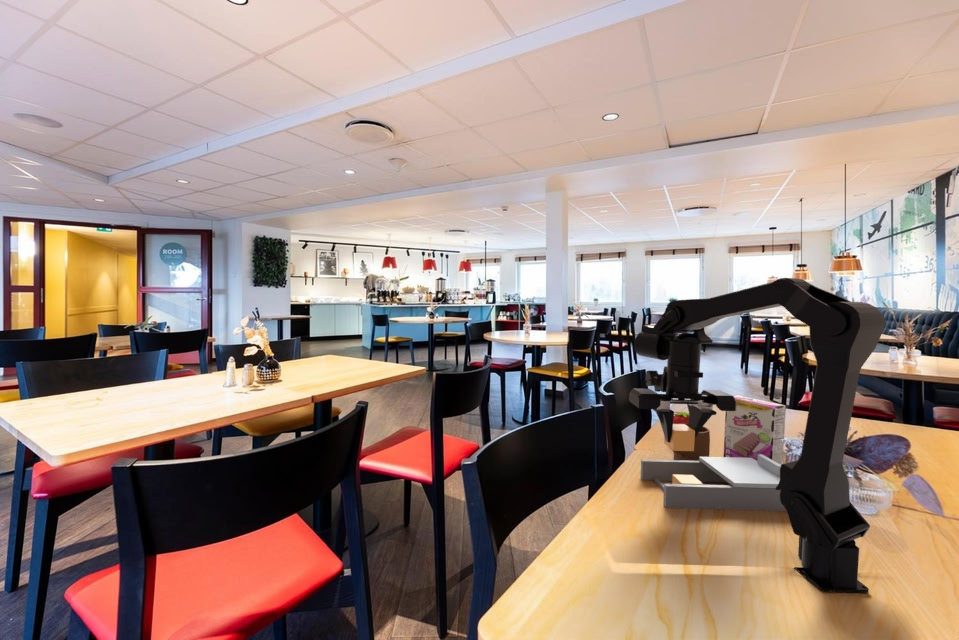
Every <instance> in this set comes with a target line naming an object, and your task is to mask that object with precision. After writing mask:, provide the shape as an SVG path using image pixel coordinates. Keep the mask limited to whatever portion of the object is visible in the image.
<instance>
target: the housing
mask: <svg viewBox="0 0 959 640" xmlns="http://www.w3.org/2000/svg"><path fill="white" fill-rule="evenodd" d="M673 474H675V475H693V476H695V477H696V478H697V479H698V480H699V481H700V482H702V483H704V482H706V483H707V482H710V483H714V482H715V483H728V482H727V481H726V480H724V479H723V478H722V477H720V476H719V475H718V474H716V473H715V472H714V471H713V470H711V469H710V468H709V467H707V466H706V465H705V464H703V463H702V462H701V461H690V460H674V459H640V479H641V480H642V481H654V482H655V483H656V484H657V486H659V488H660V490H662V491H663V502H662V503H663V504H662V505H663V507H664V508H666V509H698V510H699V509H700V510H731V511H732V510H739V511H741V510H742V511H779V512H780V511H781V512H783V511H784V512H787V510H786V509H785V507H784V506H783V505H782V504H781V501H780V491H781V490H776V488H745V487H733V486H732V485H731V484H727V485H726V484H703V485H694V484H672V475H673ZM664 481H667V482H665V483H663V482H664Z"/></svg>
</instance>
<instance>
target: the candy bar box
mask: <svg viewBox="0 0 959 640" xmlns="http://www.w3.org/2000/svg"><path fill="white" fill-rule="evenodd" d="M733 396H734V398H735V399H736V402H737V407H736V411H725V417H724V439H723V440H724V441H723V443H724V444H723V457H741V458H753V459H755V460H756V461H757V459H758V455H764V456H766V457H768V458H769V459H771V460H773V461H775V462H777V463H778V464H780V465H782V461H784V445H785V441H784V442H782V440H781V439H784V440H785V426H786V425H785V423H786V409H787V408H786V407H787V406H786V405H785V404H781V403H776V402H771V401H767V400H762V399H758V398H753V397H748V396H744V395H741V394H740V395H739V394H736V395H733Z"/></svg>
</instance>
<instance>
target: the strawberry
mask: <svg viewBox="0 0 959 640" xmlns="http://www.w3.org/2000/svg"><path fill="white" fill-rule="evenodd" d="M685 409H686V407H684V408H683V410H685ZM688 422H689V412H686V411H674V419H673V424H682V423H686V424H688Z"/></svg>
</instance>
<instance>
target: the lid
mask: <svg viewBox="0 0 959 640" xmlns="http://www.w3.org/2000/svg"><path fill="white" fill-rule="evenodd" d="M699 461H701V462H702V463H703V464H705V465H706V466H707V467H709V468H710V469H711V470H713V471H714V472H715V473H716V474H718V475H719V476H720V477H722V478H723V479H724V480H726V481H727V482H726V483H728V485H732V486H733V487H745V488H776V487H777V486H778V484H779V481H780V468H781V465H780V464H778V463H777V462H775V461H773V460H771V459H769V458H768V457H766V456H764V455H758V459H757V461H756V460H755V459H753V458H741V457H724V456H709V457H699Z"/></svg>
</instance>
